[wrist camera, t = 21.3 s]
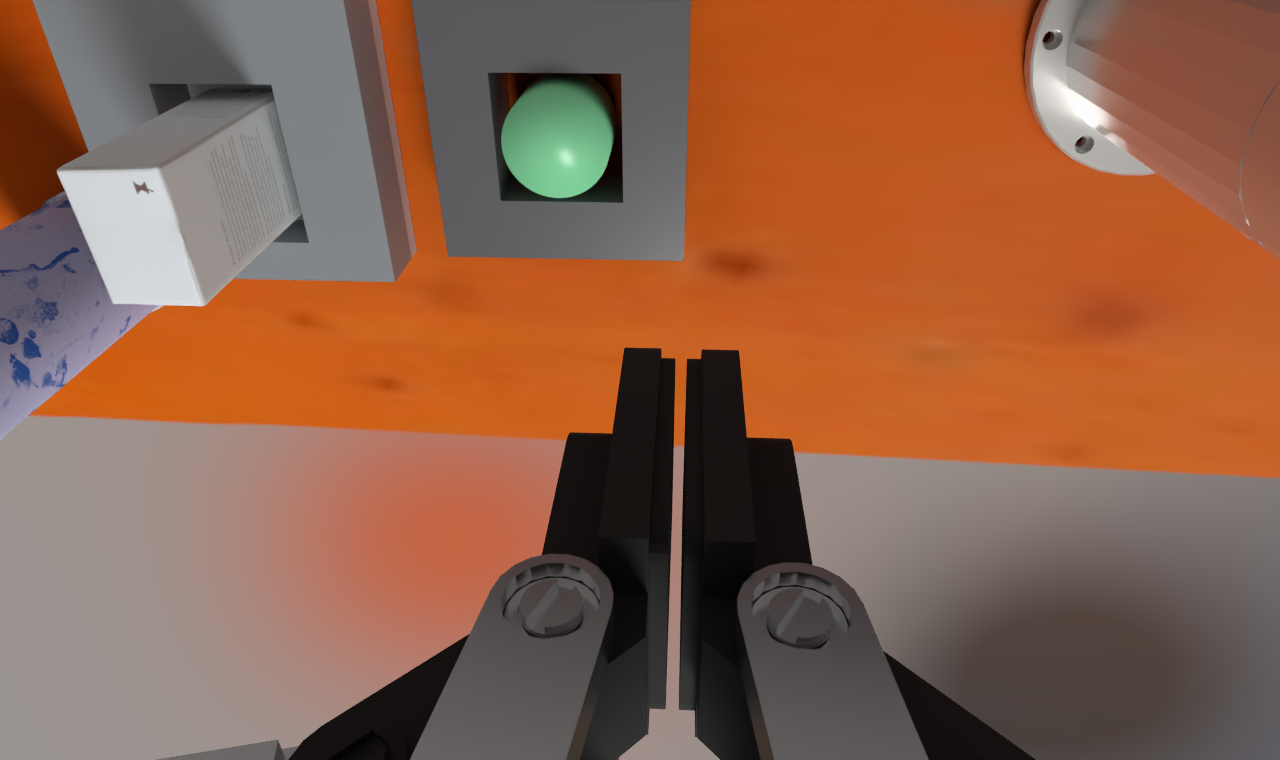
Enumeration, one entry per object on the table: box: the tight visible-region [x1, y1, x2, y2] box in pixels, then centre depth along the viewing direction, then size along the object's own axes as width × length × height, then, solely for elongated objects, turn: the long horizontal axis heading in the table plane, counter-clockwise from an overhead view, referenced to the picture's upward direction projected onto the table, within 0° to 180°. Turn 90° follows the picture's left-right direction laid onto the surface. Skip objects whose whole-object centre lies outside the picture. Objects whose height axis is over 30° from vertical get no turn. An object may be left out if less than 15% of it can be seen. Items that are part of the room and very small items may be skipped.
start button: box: [501, 73, 617, 198], centre depth 39 cm, size 5×5×4 cm
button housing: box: [412, 0, 691, 261], centre depth 40 cm, size 12×12×4 cm
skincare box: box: [57, 89, 302, 306], centre depth 37 cm, size 6×4×12 cm
